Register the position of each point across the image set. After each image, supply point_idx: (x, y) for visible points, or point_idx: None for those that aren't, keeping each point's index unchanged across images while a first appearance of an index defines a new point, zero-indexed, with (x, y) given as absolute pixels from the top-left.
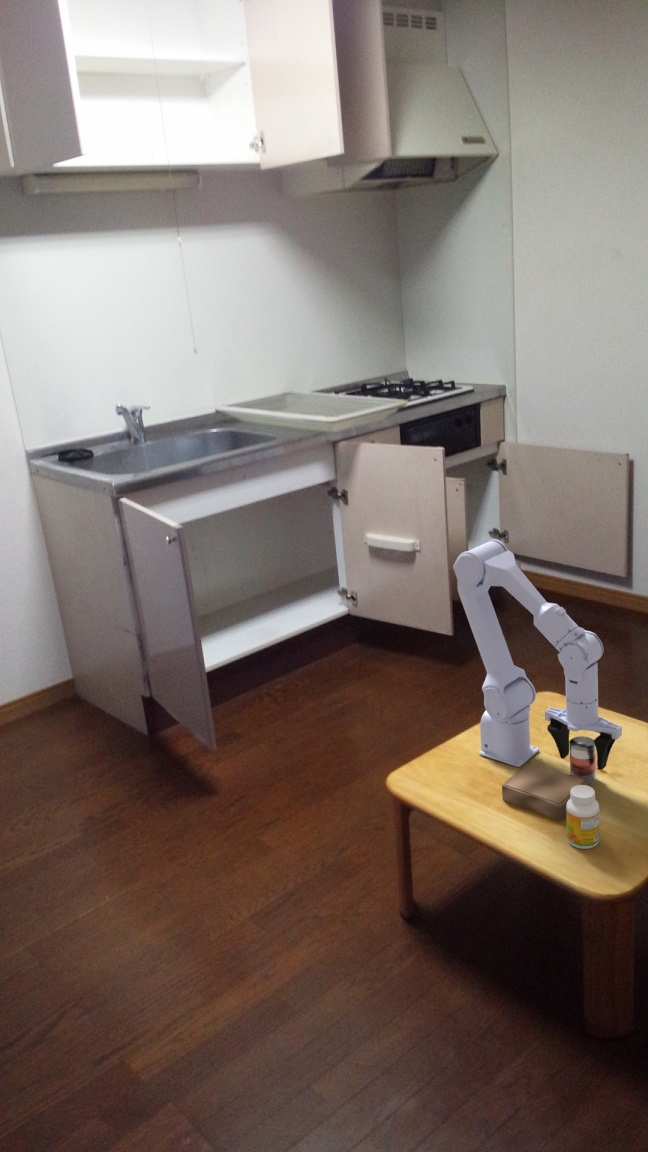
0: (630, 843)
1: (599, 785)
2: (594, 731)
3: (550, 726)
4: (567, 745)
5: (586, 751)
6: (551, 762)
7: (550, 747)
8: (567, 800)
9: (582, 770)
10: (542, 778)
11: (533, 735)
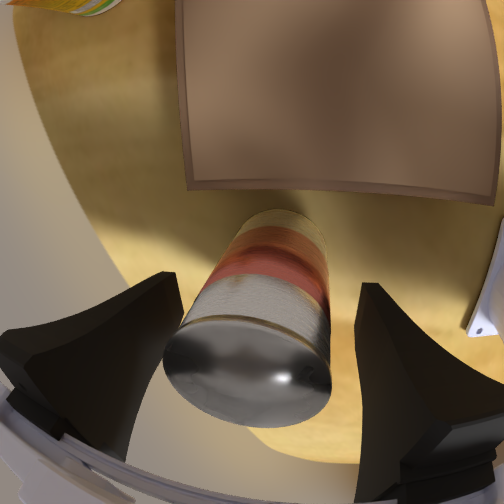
0: (35, 65)
1: (212, 248)
2: (101, 454)
3: (497, 434)
4: (362, 359)
5: (184, 323)
6: (420, 297)
7: None
8: (176, 3)
9: (240, 244)
10: (384, 75)
11: None
